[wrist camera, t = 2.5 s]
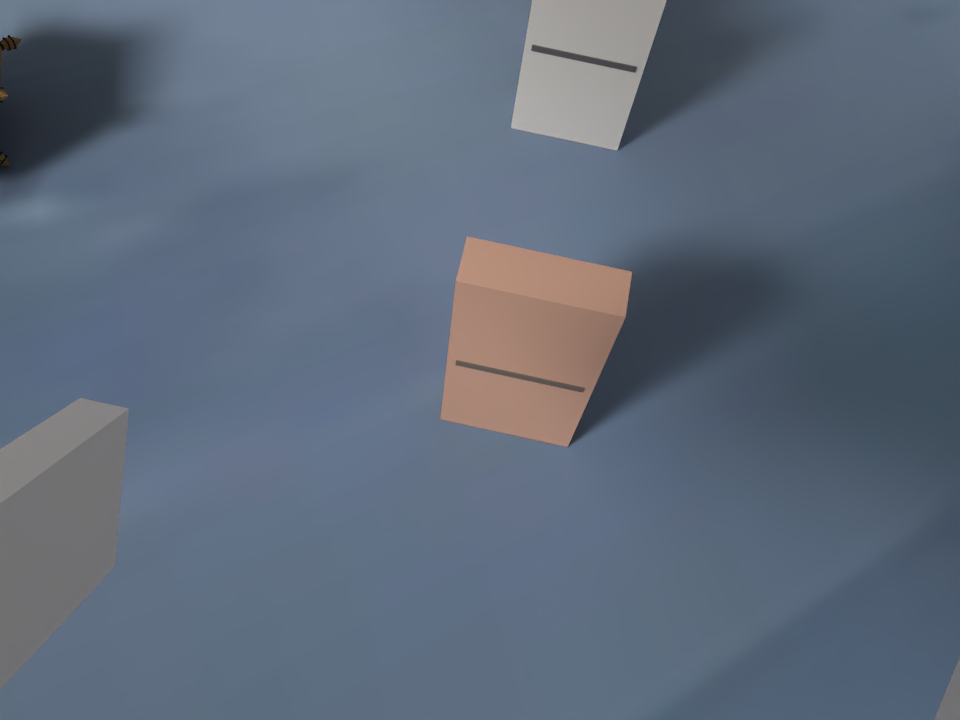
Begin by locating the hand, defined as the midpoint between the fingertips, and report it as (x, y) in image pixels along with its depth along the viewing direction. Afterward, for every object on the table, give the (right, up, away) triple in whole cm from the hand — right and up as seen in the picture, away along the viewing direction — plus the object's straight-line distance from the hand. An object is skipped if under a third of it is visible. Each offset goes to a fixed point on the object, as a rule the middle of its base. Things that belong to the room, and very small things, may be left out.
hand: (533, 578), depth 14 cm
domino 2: (0, +1, +22) cm, 22 cm away
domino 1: (+3, +14, +29) cm, 32 cm away
